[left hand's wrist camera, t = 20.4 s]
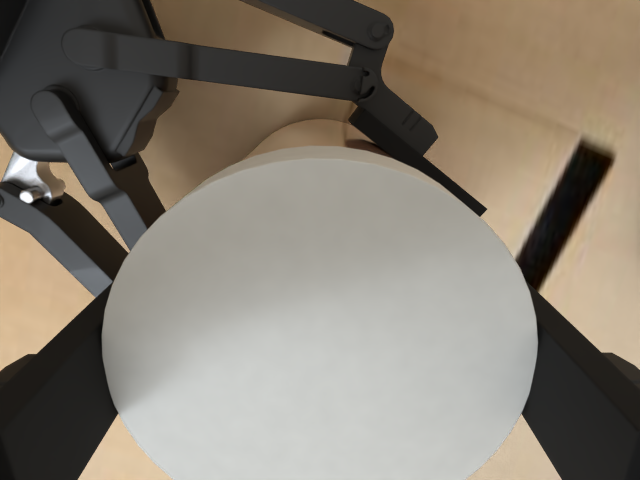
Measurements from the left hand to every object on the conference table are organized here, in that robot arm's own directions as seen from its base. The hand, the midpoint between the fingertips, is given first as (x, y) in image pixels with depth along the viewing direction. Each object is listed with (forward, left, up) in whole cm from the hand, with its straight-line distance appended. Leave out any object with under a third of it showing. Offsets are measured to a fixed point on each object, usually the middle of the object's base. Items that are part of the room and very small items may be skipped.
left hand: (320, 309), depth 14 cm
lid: (0, 0, +3) cm, 3 cm away
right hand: (-4, -1, -6) cm, 7 cm away
